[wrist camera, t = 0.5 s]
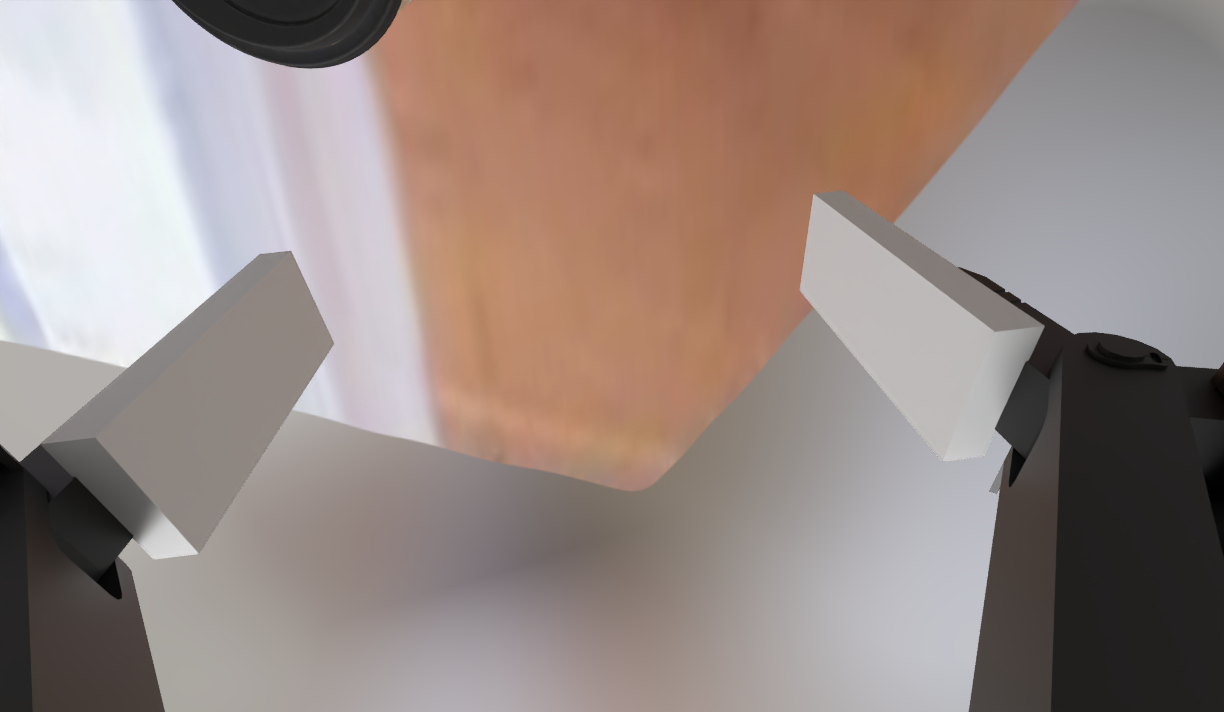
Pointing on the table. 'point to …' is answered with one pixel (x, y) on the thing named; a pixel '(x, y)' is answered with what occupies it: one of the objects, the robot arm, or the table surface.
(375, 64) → the table surface
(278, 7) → the coffee cup
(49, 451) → the robot arm
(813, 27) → the table surface
